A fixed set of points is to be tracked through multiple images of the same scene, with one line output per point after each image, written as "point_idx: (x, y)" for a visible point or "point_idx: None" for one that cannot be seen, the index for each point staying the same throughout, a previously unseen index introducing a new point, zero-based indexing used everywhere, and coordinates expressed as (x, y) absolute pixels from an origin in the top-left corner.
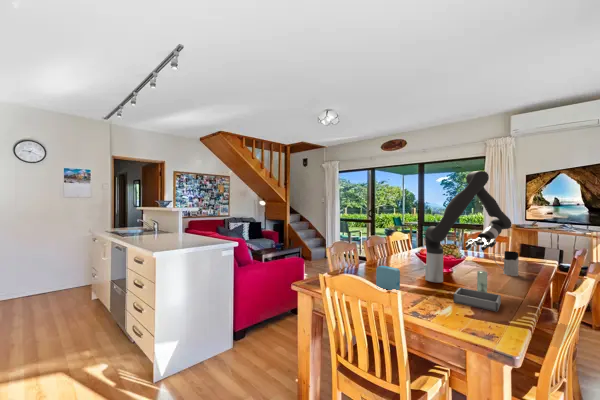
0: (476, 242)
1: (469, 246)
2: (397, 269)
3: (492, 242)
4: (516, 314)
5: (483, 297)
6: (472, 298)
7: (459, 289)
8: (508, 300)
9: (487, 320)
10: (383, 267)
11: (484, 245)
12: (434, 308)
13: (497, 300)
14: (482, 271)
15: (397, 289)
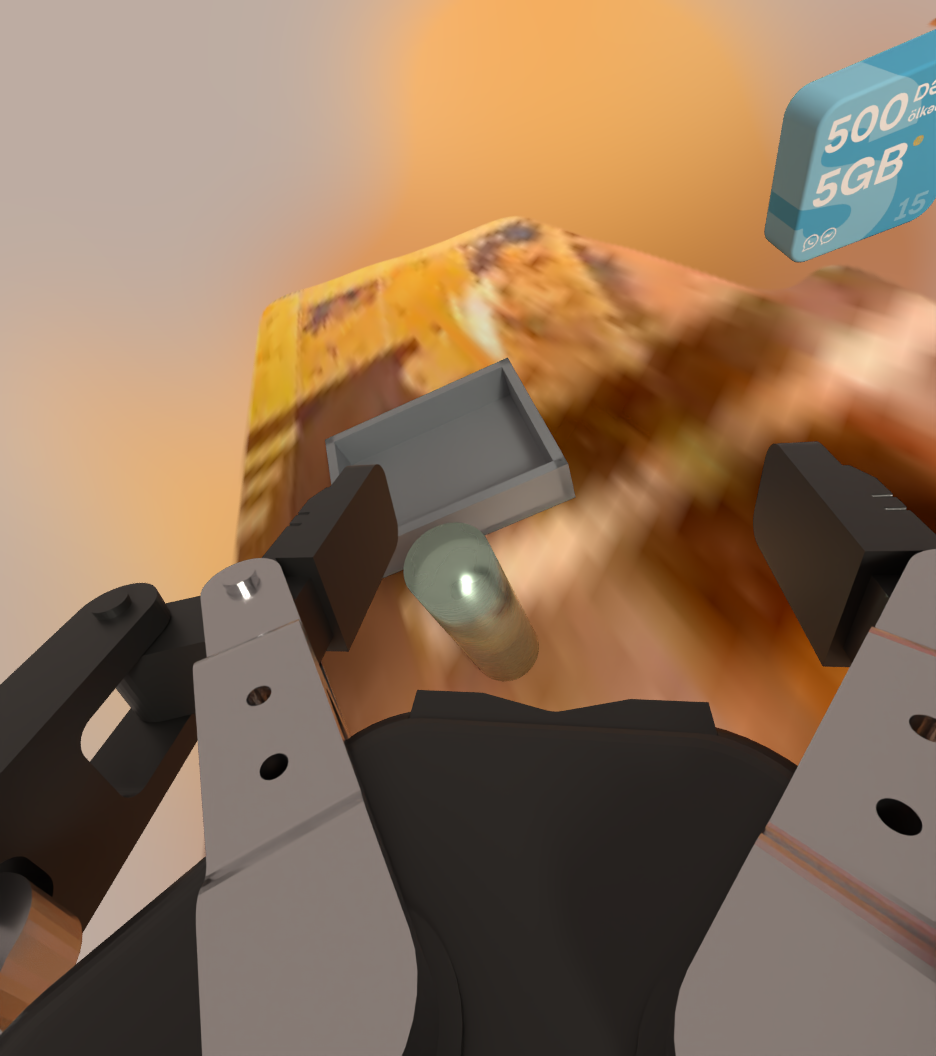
0: (696, 714)
1: (810, 566)
2: (820, 101)
3: (27, 684)
4: (287, 513)
5: None
6: (425, 398)
7: (539, 433)
8: (350, 689)
9: (350, 377)
10: (898, 46)
11: (307, 527)
12: (515, 296)
13: (333, 465)
14: (450, 574)
15: (772, 239)
